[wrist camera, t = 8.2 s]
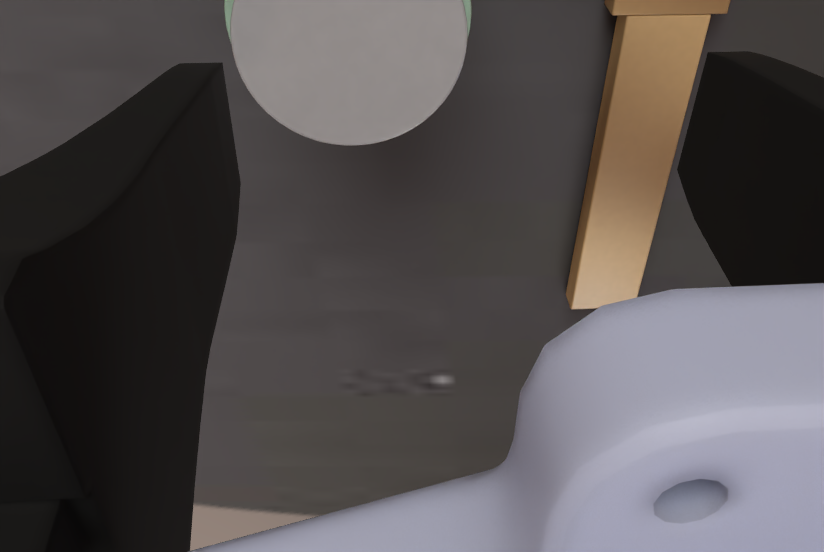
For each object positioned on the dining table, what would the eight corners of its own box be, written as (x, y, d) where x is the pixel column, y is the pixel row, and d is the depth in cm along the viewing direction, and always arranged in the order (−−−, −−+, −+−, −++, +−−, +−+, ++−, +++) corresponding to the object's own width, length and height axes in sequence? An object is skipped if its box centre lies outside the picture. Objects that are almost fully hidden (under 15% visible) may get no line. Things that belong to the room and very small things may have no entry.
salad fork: (668, 290, 27) (675, 305, 27) (524, 296, 27) (528, 311, 26) (870, -398, 16) (892, -399, 15) (622, -404, 15) (635, -405, 15)
